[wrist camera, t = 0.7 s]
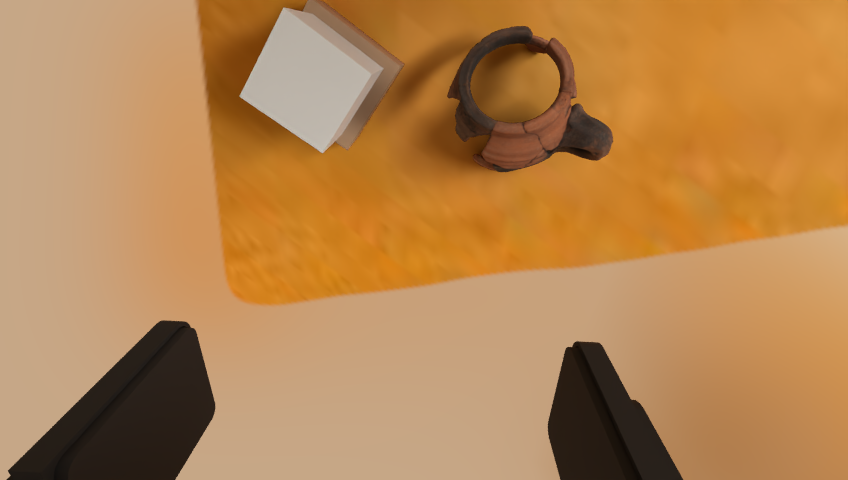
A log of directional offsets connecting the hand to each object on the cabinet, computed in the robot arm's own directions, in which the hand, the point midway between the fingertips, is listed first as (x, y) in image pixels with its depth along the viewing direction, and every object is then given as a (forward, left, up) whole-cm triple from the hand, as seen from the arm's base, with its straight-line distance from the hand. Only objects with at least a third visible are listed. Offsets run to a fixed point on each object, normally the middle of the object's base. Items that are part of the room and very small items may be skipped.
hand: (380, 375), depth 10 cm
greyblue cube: (-1, -8, -22) cm, 23 cm away
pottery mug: (-7, +5, -26) cm, 27 cm away
